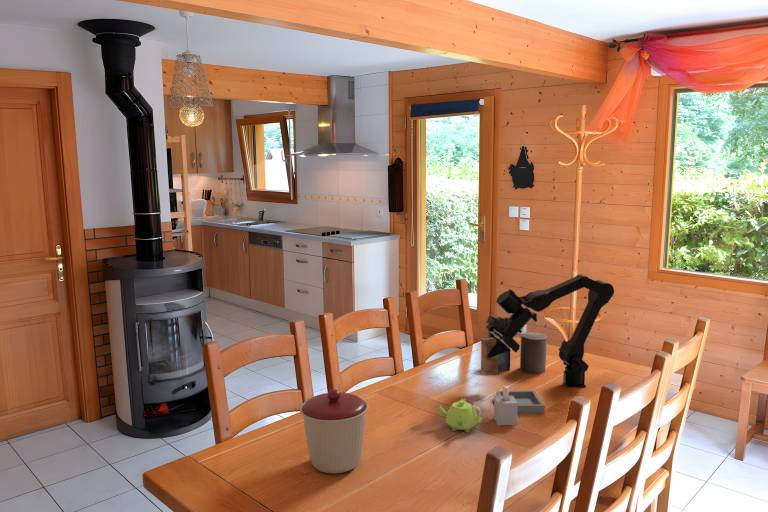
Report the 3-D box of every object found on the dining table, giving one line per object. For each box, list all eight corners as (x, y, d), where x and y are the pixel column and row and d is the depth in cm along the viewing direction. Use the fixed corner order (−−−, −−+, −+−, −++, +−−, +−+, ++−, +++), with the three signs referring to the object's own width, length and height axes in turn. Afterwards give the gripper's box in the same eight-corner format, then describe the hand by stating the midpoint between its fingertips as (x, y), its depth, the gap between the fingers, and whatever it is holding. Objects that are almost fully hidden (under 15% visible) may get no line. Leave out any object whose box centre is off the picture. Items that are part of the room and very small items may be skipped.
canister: (334, 442, 178) (333, 373, 175) (383, 461, 167) (382, 387, 163) (287, 467, 164) (284, 392, 161) (336, 489, 153) (334, 409, 149)
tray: (534, 397, 209) (534, 390, 209) (544, 413, 196) (544, 405, 196) (496, 398, 209) (496, 390, 209) (503, 414, 196) (503, 406, 196)
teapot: (488, 429, 185) (488, 403, 184) (458, 439, 179) (458, 411, 178) (463, 416, 195) (464, 391, 193) (435, 425, 189) (435, 399, 187)
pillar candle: (518, 372, 234) (520, 334, 231) (520, 364, 243) (522, 327, 240) (545, 375, 231) (546, 337, 228) (546, 366, 240) (547, 329, 238)
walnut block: (493, 370, 217) (493, 337, 215) (497, 374, 212) (498, 341, 211) (481, 371, 216) (481, 338, 214) (485, 375, 212) (485, 342, 210)
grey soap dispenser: (512, 416, 194) (513, 383, 192) (517, 424, 188) (517, 390, 187) (493, 416, 194) (494, 383, 192) (497, 425, 188) (498, 390, 187)
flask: (485, 368, 239) (486, 341, 238) (487, 365, 242) (488, 339, 240) (509, 371, 235) (510, 344, 234) (511, 369, 238) (511, 342, 236)
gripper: (491, 301, 220) (461, 332, 220) (511, 313, 202) (479, 348, 202) (511, 320, 223) (482, 352, 223) (533, 335, 205) (501, 369, 205)
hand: (485, 355), depth 213 cm, fingers closed on walnut block, 4 cm apart
